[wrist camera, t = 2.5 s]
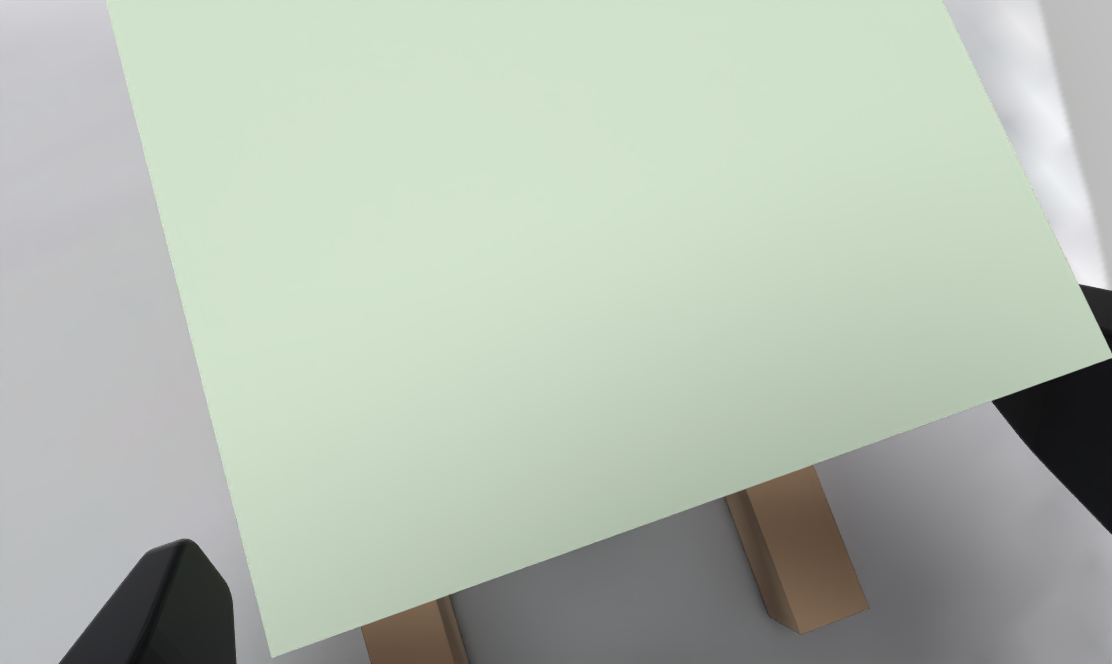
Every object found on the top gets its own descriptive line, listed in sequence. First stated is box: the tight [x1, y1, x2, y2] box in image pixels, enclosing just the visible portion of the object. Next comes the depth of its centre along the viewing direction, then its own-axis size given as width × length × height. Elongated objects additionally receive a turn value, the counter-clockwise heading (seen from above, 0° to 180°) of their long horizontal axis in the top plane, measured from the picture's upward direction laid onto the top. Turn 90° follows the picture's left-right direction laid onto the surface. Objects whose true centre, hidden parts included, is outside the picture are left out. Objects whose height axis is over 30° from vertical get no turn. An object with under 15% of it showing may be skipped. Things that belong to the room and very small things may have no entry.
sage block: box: [106, 0, 1112, 658], centre depth 11 cm, size 5×5×14 cm
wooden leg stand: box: [361, 465, 870, 664], centre depth 17 cm, size 16×10×2 cm, turn 19°
